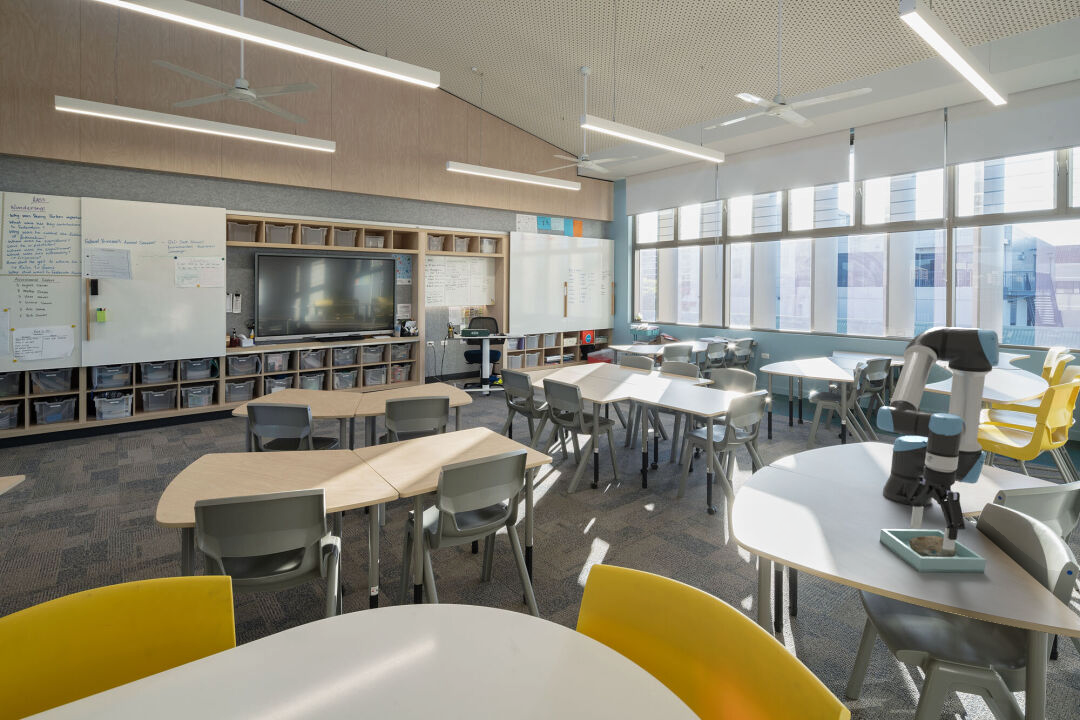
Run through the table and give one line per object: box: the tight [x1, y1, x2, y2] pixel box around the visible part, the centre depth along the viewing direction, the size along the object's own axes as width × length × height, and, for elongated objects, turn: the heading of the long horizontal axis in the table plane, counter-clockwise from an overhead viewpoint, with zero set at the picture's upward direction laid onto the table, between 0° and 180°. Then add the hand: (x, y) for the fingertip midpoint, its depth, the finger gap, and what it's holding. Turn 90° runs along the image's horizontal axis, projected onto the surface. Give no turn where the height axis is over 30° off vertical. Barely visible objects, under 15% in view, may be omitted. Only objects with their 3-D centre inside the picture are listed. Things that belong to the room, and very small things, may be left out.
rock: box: [909, 536, 956, 557], centre depth 161 cm, size 8×11×4 cm
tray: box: [879, 528, 987, 574], centre depth 161 cm, size 18×18×4 cm
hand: (931, 537), depth 161 cm, fingers open, 13 cm apart
